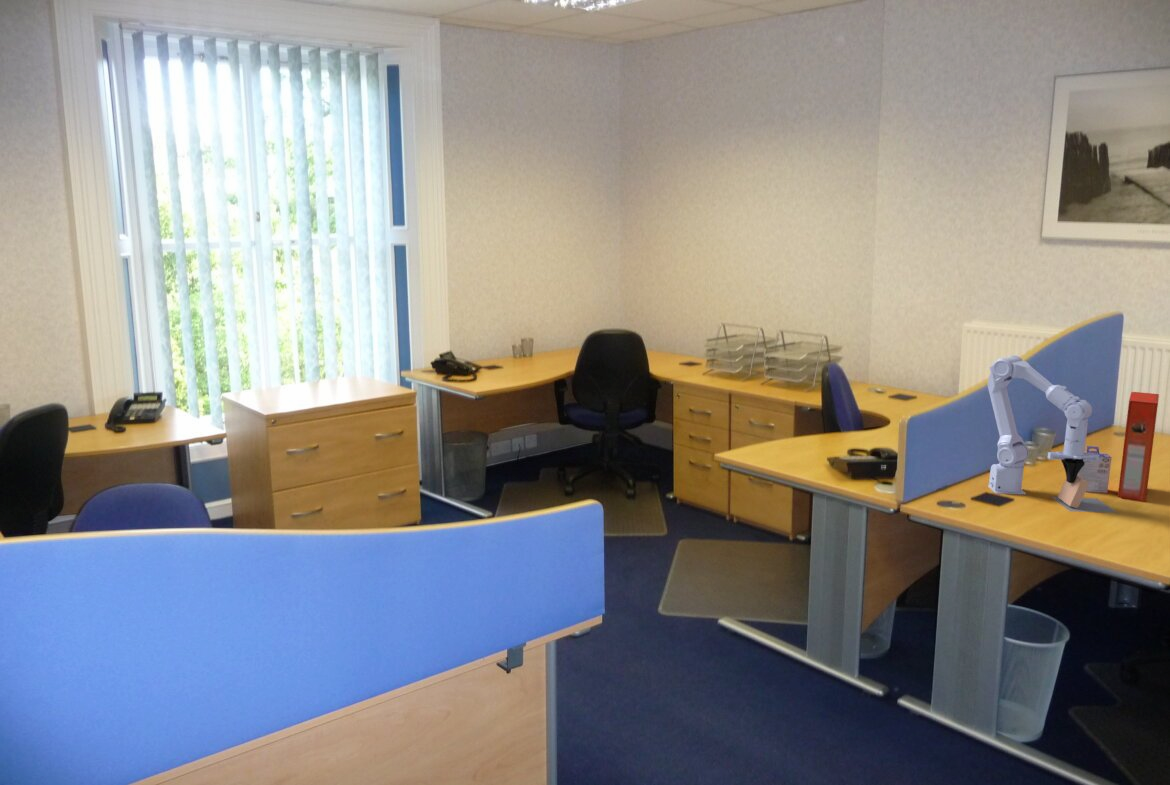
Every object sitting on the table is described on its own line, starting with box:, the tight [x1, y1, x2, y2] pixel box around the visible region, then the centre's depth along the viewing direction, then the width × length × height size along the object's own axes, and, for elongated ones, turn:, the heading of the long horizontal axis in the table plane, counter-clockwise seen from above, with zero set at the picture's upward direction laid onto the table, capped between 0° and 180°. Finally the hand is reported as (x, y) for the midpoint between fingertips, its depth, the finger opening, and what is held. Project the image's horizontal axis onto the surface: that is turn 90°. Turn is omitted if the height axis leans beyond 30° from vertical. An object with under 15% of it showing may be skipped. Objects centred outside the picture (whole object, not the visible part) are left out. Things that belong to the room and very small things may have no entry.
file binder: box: [1117, 391, 1160, 503], centre depth 299 cm, size 8×17×32 cm, turn 148°
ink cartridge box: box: [1078, 445, 1112, 494], centre depth 304 cm, size 10×6×14 cm, turn 78°
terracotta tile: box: [1057, 474, 1090, 509], centre depth 289 cm, size 2×9×9 cm, turn 176°
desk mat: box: [1051, 496, 1118, 514], centre depth 290 cm, size 14×14×1 cm
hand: (1070, 482), depth 288 cm, fingers closed
